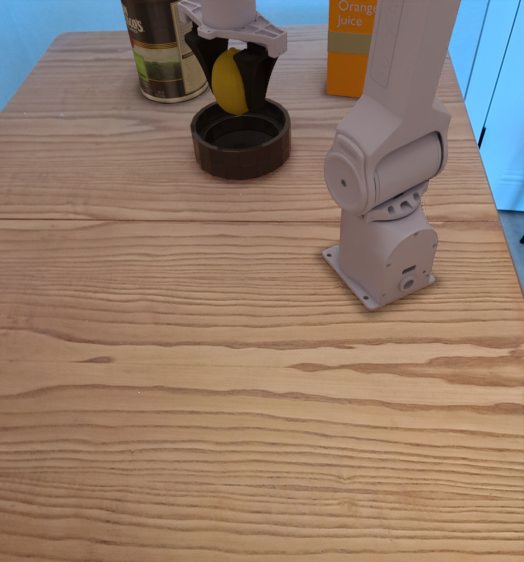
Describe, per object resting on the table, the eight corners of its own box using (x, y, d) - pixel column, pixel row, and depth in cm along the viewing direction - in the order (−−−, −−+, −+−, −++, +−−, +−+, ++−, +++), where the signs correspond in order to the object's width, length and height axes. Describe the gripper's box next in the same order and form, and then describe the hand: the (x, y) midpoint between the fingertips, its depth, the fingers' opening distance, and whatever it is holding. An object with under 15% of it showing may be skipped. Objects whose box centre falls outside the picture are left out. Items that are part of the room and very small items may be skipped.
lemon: (264, 103, 71) (259, 35, 64) (259, 128, 67) (254, 60, 61) (219, 103, 71) (211, 36, 65) (213, 128, 68) (203, 60, 61)
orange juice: (325, 94, 81) (329, -74, 65) (338, 63, 86) (346, -100, 70) (380, 100, 79) (399, -72, 63) (391, 68, 84) (410, -99, 68)
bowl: (308, 163, 72) (308, 130, 68) (220, 195, 69) (215, 163, 65) (263, 117, 78) (261, 85, 75) (181, 145, 76) (175, 113, 72)
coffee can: (153, 111, 81) (129, 3, 70) (132, 79, 87) (106, -26, 76) (220, 91, 83) (207, -17, 72) (195, 61, 89) (179, -43, 78)
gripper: (147, -33, 58) (172, 94, 69) (249, 2, 52) (259, 136, 63) (197, -56, 61) (213, 70, 72) (300, -25, 55) (301, 108, 66)
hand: (237, 99), depth 68 cm, fingers closed on lemon, 5 cm apart
